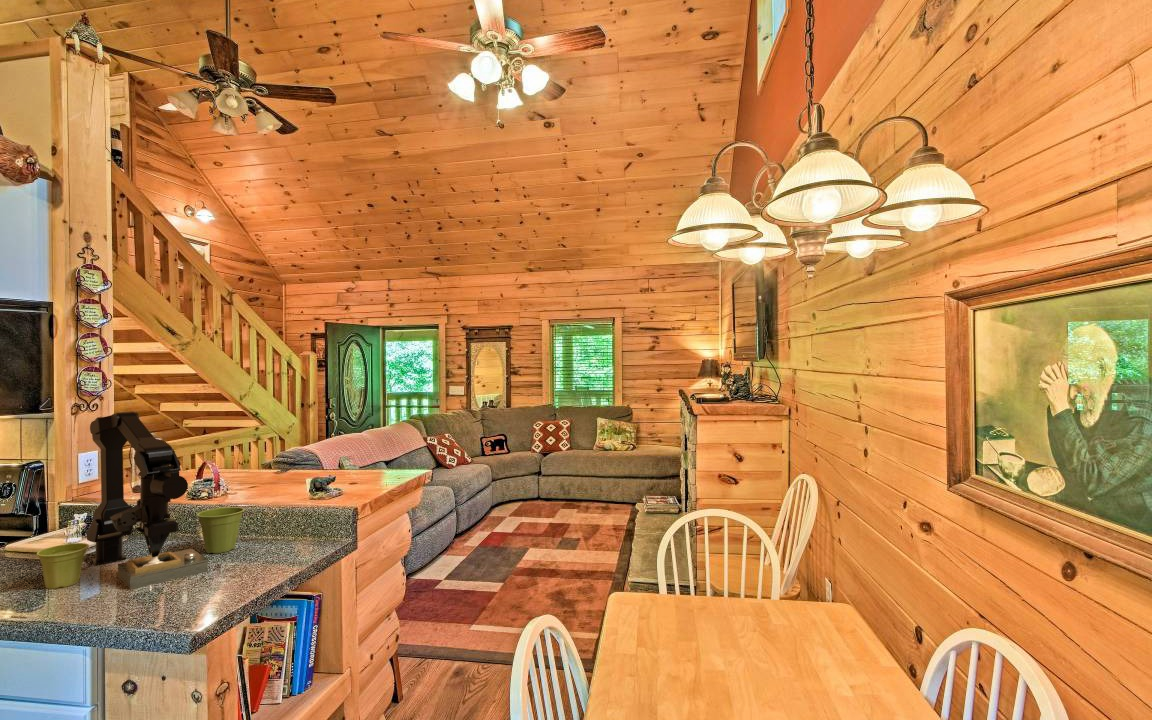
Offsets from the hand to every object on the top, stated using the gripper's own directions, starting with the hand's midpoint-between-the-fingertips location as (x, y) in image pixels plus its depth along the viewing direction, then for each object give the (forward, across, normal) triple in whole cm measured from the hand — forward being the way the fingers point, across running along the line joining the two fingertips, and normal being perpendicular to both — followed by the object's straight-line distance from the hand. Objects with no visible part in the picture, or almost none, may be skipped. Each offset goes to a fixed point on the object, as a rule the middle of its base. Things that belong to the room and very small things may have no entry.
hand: (153, 555), depth 141 cm
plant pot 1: (+5, -10, -16) cm, 20 cm away
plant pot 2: (+5, -10, +18) cm, 21 cm away
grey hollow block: (+5, 0, +2) cm, 5 cm away
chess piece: (+3, 0, 0) cm, 3 cm away
